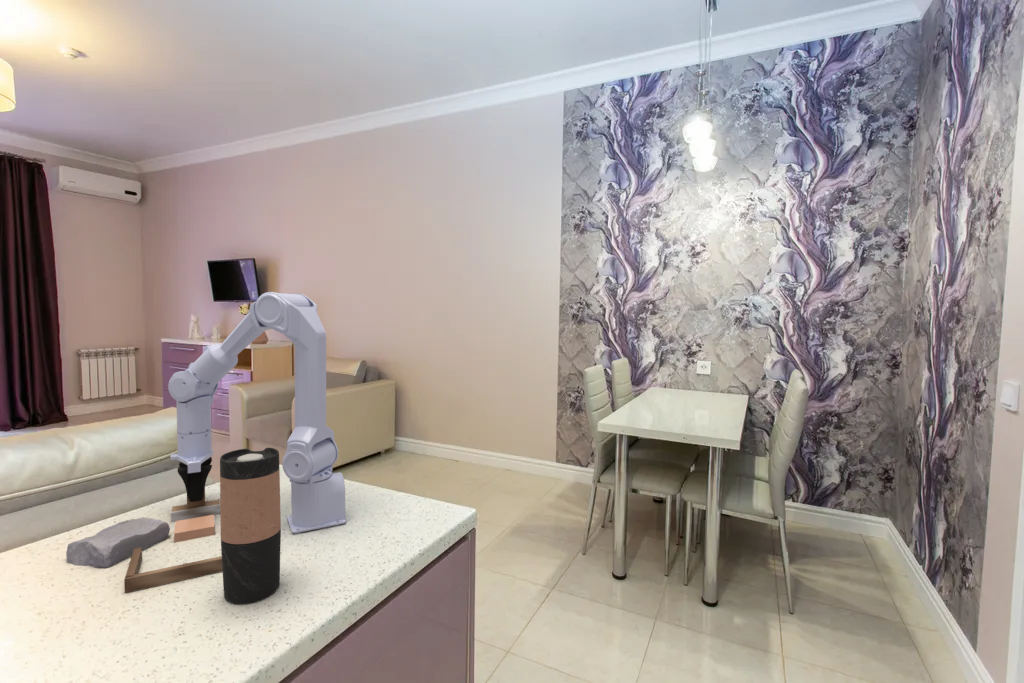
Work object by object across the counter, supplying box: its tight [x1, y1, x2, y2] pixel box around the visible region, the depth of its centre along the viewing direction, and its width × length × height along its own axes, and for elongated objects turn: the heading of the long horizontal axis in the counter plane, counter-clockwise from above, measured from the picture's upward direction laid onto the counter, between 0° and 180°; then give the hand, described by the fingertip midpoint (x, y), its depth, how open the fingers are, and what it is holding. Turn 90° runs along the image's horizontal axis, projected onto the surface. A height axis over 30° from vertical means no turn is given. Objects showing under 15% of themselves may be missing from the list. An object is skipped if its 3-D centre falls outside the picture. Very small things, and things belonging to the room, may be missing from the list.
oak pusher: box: [170, 488, 220, 523], centre depth 97 cm, size 8×5×6 cm, turn 121°
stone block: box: [66, 517, 171, 569], centre depth 83 cm, size 12×5×10 cm
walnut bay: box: [123, 547, 223, 594], centre depth 79 cm, size 16×10×2 cm, turn 121°
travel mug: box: [219, 447, 282, 605], centre depth 71 cm, size 8×8×20 cm
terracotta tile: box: [173, 515, 216, 543], centre depth 90 cm, size 6×6×2 cm
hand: (196, 498), depth 98 cm, fingers closed on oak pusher, 2 cm apart
